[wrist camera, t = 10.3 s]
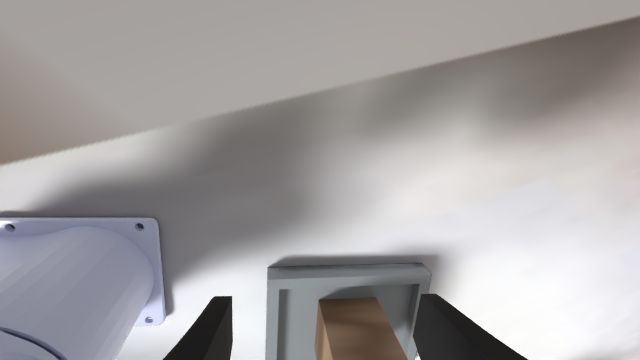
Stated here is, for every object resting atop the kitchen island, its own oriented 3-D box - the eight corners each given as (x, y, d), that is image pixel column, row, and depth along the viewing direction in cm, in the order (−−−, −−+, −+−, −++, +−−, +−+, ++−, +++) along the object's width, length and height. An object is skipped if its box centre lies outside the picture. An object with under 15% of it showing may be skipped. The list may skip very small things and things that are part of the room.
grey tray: (265, 375, 25) (264, 393, 24) (267, 267, 22) (267, 279, 21) (403, 363, 27) (411, 378, 26) (422, 263, 24) (431, 274, 23)
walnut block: (314, 348, 24) (328, 427, 19) (318, 299, 23) (335, 368, 18) (369, 344, 25) (398, 419, 20) (376, 297, 24) (409, 362, 18)
